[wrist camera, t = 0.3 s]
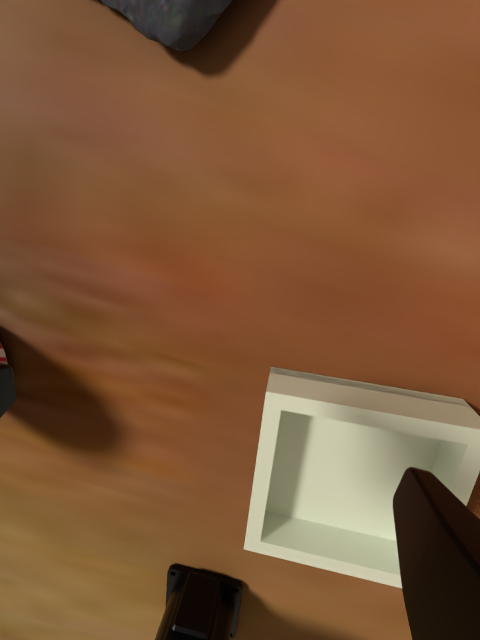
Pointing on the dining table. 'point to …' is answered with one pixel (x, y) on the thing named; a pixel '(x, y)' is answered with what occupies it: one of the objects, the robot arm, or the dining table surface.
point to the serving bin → (350, 468)
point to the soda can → (2, 355)
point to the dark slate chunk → (172, 19)
